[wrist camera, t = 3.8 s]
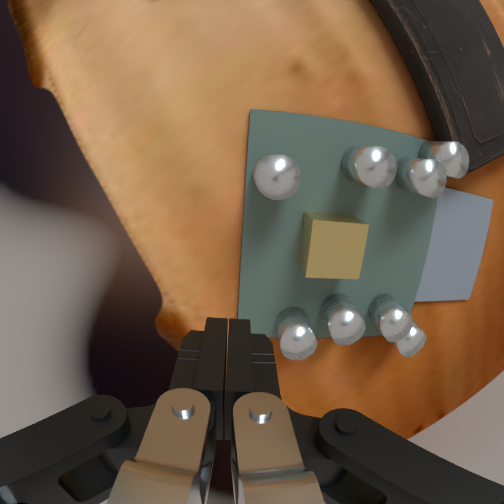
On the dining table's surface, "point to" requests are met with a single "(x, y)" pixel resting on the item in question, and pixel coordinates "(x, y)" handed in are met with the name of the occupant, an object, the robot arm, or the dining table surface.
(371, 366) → the dining table surface
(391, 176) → the aluminium spacers
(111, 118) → the dining table surface
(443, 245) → the felt pad
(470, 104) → the hardcover book
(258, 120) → the mat
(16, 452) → the robot arm
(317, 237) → the wood grain cube
